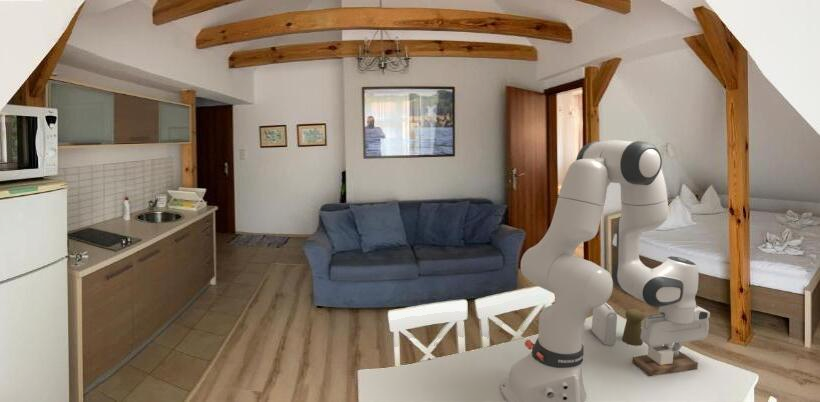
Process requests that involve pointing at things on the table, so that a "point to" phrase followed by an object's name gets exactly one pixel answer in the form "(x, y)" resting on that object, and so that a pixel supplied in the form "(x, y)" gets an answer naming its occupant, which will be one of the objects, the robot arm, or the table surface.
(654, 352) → the fader tab
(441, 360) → the table surface
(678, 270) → the robot arm
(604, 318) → the photo printer
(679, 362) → the slider board
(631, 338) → the cork
